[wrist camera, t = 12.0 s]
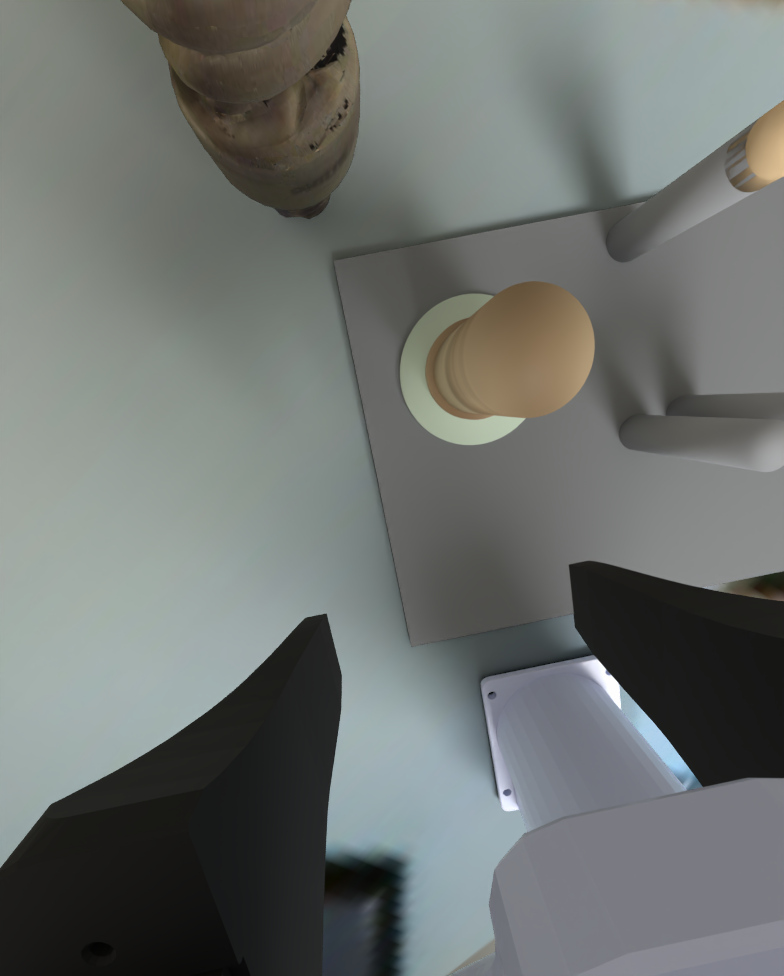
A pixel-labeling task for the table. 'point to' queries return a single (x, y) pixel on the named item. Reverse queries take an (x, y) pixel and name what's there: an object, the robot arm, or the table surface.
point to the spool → (513, 355)
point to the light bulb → (266, 91)
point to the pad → (416, 383)
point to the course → (595, 401)
